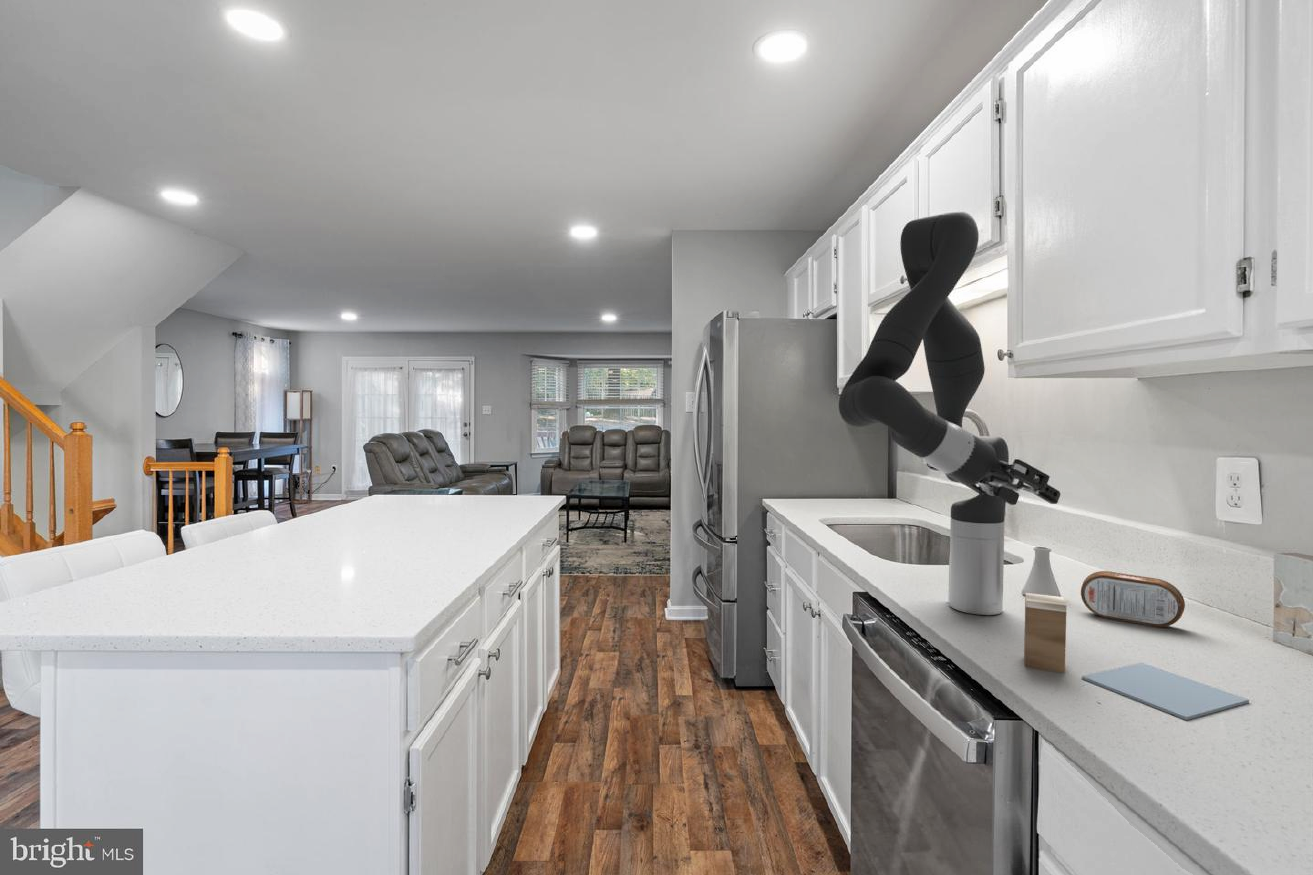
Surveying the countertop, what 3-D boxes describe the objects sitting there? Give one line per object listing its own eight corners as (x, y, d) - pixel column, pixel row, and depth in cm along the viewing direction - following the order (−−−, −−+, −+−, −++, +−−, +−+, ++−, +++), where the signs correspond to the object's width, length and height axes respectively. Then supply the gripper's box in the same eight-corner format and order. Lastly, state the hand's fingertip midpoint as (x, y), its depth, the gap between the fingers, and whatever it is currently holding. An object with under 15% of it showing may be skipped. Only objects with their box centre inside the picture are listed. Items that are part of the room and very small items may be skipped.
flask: (1066, 595, 130) (1067, 547, 130) (1057, 603, 125) (1058, 553, 125) (1026, 588, 135) (1027, 542, 135) (1016, 595, 130) (1017, 547, 130)
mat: (1081, 678, 90) (1081, 675, 90) (1141, 665, 94) (1141, 662, 94) (1186, 720, 77) (1186, 716, 77) (1249, 702, 82) (1249, 699, 82)
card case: (1023, 656, 98) (1025, 592, 97) (1062, 662, 95) (1063, 597, 95) (1024, 666, 94) (1026, 600, 93) (1064, 673, 91) (1066, 605, 91)
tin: (1184, 628, 110) (1185, 580, 110) (1183, 633, 108) (1184, 584, 108) (1081, 610, 120) (1082, 567, 120) (1078, 614, 118) (1079, 570, 118)
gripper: (994, 425, 94) (1080, 476, 96) (935, 436, 108) (1011, 481, 110) (977, 469, 93) (1064, 520, 95) (919, 475, 107) (996, 519, 109)
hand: (1035, 499), depth 102 cm, fingers open, 8 cm apart
